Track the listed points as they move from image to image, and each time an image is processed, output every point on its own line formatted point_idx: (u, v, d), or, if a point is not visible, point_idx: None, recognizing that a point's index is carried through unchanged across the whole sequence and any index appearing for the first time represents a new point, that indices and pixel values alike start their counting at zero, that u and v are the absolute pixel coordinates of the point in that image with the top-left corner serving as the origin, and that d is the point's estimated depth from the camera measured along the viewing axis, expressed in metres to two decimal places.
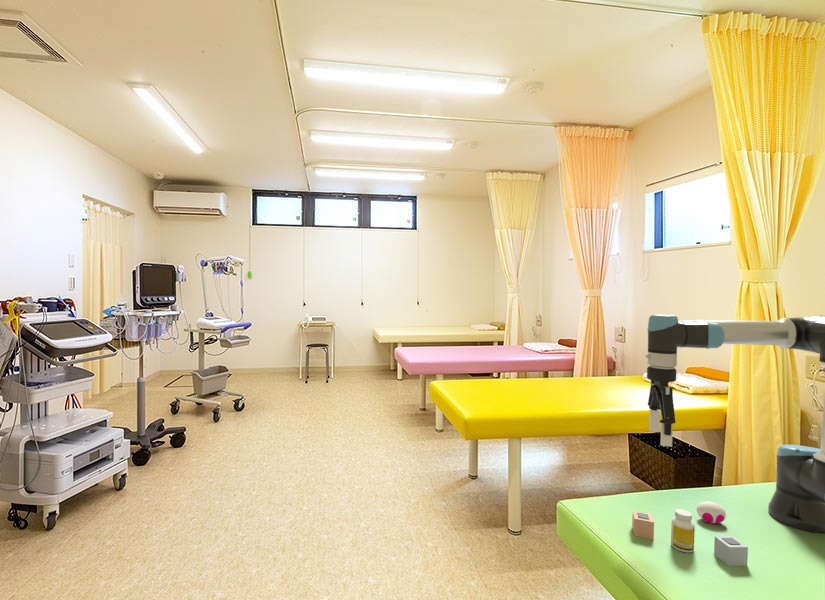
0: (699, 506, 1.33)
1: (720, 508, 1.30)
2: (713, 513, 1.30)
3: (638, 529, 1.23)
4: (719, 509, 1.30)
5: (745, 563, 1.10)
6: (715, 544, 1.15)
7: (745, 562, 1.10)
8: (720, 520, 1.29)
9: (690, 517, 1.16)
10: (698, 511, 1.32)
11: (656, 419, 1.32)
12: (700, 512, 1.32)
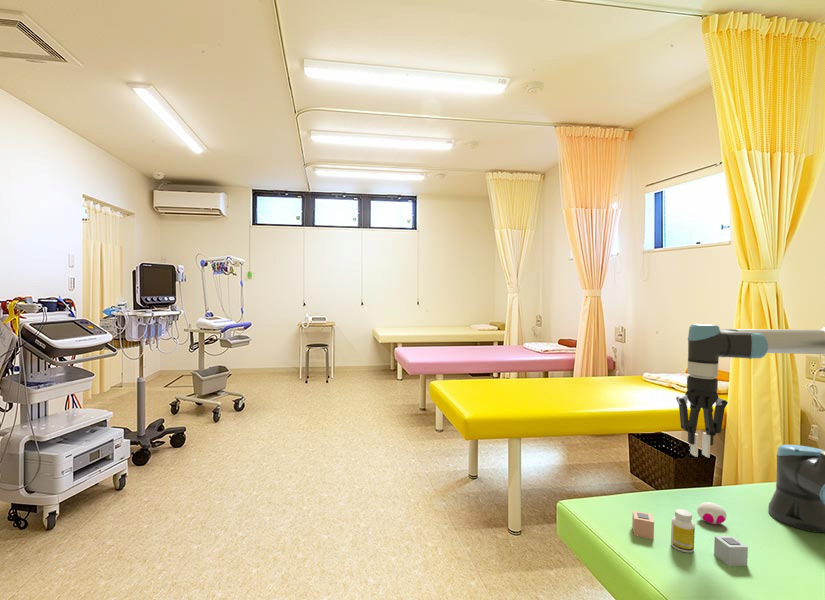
0: (699, 507, 1.32)
1: (721, 509, 1.30)
2: (714, 514, 1.29)
3: (638, 529, 1.23)
4: (719, 510, 1.30)
5: (745, 563, 1.10)
6: (715, 544, 1.15)
7: (745, 562, 1.10)
8: (721, 521, 1.29)
9: (690, 517, 1.16)
10: (699, 512, 1.32)
11: (705, 443, 1.26)
12: (700, 513, 1.31)
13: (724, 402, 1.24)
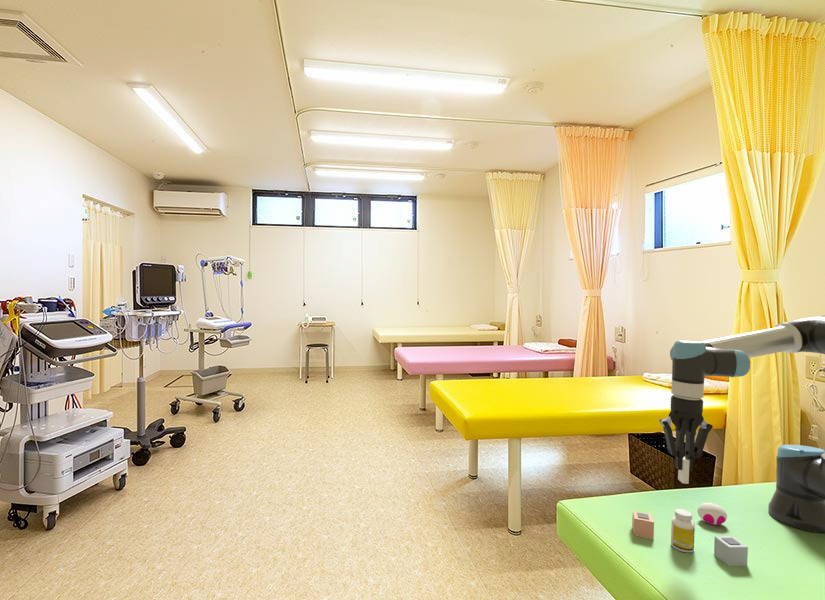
0: (700, 507, 1.32)
1: (721, 509, 1.30)
2: (714, 515, 1.29)
3: (638, 529, 1.23)
4: (720, 510, 1.29)
5: (745, 563, 1.10)
6: (715, 544, 1.15)
7: (745, 562, 1.10)
8: (721, 521, 1.28)
9: (690, 517, 1.16)
10: (699, 512, 1.32)
11: None
12: (700, 514, 1.31)
13: (709, 426, 1.16)
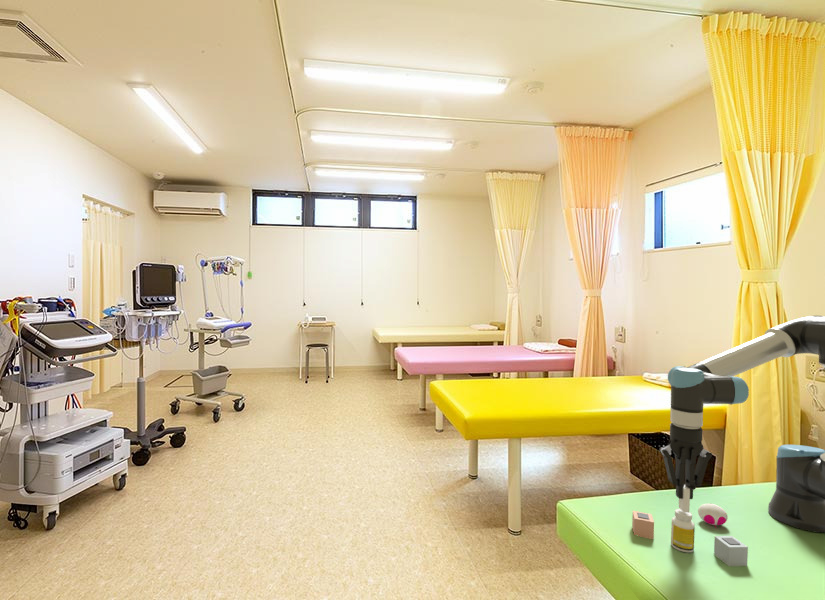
0: (700, 508, 1.32)
1: (722, 510, 1.29)
2: (715, 516, 1.28)
3: (638, 529, 1.23)
4: (720, 511, 1.29)
5: (745, 563, 1.10)
6: (715, 544, 1.15)
7: (745, 562, 1.10)
8: (722, 522, 1.28)
9: (690, 517, 1.16)
10: (700, 513, 1.31)
11: None
12: (701, 514, 1.31)
13: (709, 454, 1.16)
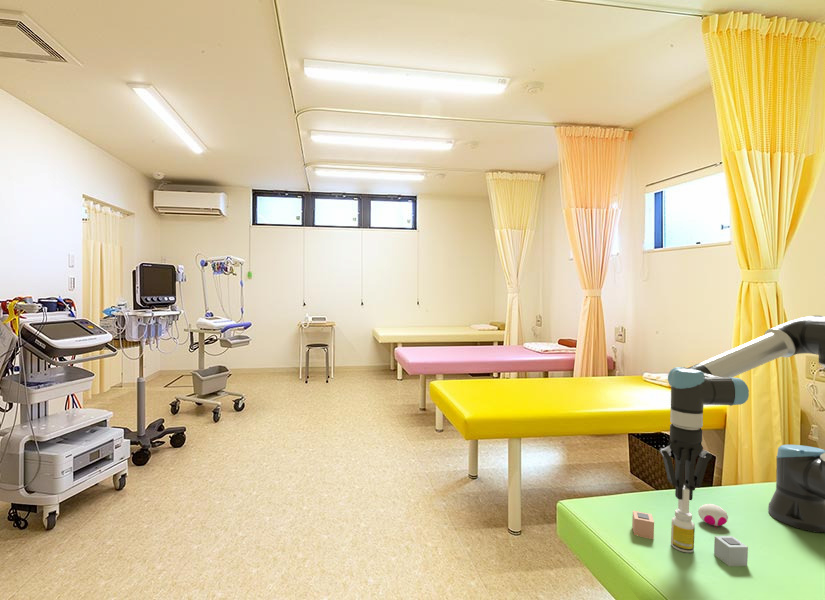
0: (701, 508, 1.31)
1: (722, 510, 1.29)
2: (715, 516, 1.28)
3: (638, 529, 1.23)
4: (721, 512, 1.28)
5: (745, 563, 1.10)
6: (715, 544, 1.15)
7: (745, 562, 1.10)
8: (722, 523, 1.28)
9: (690, 517, 1.16)
10: (700, 513, 1.31)
11: None
12: (701, 515, 1.30)
13: (708, 455, 1.16)
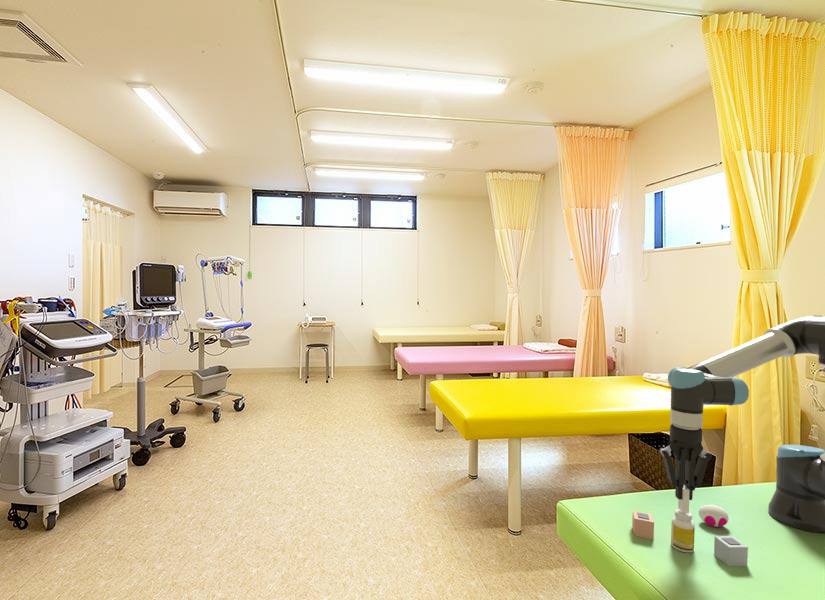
0: (701, 509, 1.31)
1: (722, 511, 1.29)
2: (715, 517, 1.28)
3: (638, 529, 1.23)
4: (721, 512, 1.28)
5: (745, 563, 1.10)
6: (715, 544, 1.15)
7: (745, 562, 1.10)
8: (723, 523, 1.27)
9: (690, 517, 1.16)
10: (700, 514, 1.30)
11: None
12: (702, 516, 1.30)
13: (708, 455, 1.16)
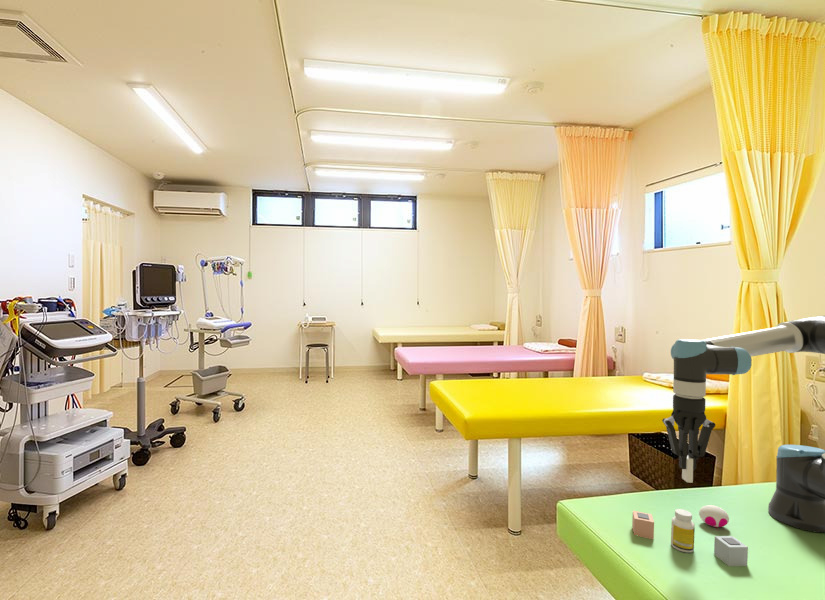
0: (702, 510, 1.31)
1: (723, 512, 1.28)
2: (716, 517, 1.27)
3: (638, 529, 1.23)
4: (722, 513, 1.28)
5: (745, 563, 1.10)
6: (715, 544, 1.15)
7: (745, 562, 1.10)
8: (723, 524, 1.27)
9: (690, 517, 1.16)
10: (701, 515, 1.30)
11: None
12: (702, 516, 1.30)
13: (712, 424, 1.16)
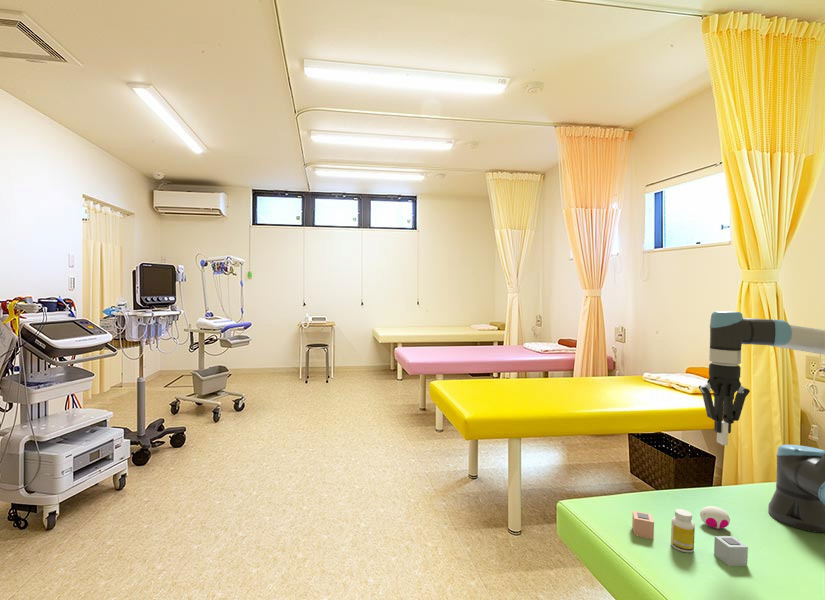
0: (702, 511, 1.30)
1: (724, 513, 1.27)
2: (717, 519, 1.27)
3: (638, 529, 1.23)
4: (723, 514, 1.27)
5: (745, 563, 1.10)
6: (715, 544, 1.15)
7: (745, 562, 1.10)
8: (724, 525, 1.26)
9: (690, 517, 1.16)
10: (702, 516, 1.29)
11: None
12: (703, 517, 1.29)
13: (746, 390, 1.24)
